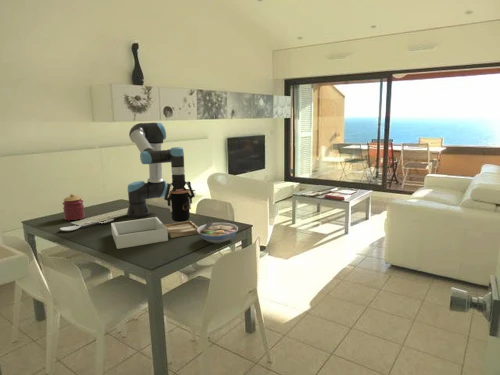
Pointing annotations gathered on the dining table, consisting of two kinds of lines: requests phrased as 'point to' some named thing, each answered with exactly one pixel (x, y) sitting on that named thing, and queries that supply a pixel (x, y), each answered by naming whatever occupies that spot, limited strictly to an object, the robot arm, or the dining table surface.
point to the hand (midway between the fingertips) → (180, 210)
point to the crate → (138, 237)
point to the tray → (181, 229)
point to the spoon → (82, 224)
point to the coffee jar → (180, 205)
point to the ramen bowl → (217, 231)
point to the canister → (73, 208)
